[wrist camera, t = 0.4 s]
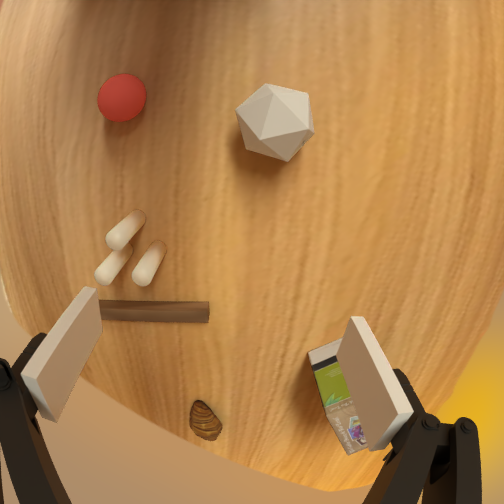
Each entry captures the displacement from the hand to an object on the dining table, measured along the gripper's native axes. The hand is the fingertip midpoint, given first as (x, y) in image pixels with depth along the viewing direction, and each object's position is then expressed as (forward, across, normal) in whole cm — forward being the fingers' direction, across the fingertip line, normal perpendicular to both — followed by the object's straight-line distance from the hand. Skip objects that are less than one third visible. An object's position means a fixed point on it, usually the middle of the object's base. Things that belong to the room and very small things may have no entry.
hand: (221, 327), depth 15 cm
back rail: (+26, -10, -18) cm, 33 cm away
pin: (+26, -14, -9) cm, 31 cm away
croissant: (+26, 0, -45) cm, 52 cm away
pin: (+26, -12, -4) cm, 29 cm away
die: (+27, +4, +10) cm, 29 cm away
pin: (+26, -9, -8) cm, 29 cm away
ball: (+24, -15, +12) cm, 30 cm away
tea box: (+26, +23, -27) cm, 44 cm away
